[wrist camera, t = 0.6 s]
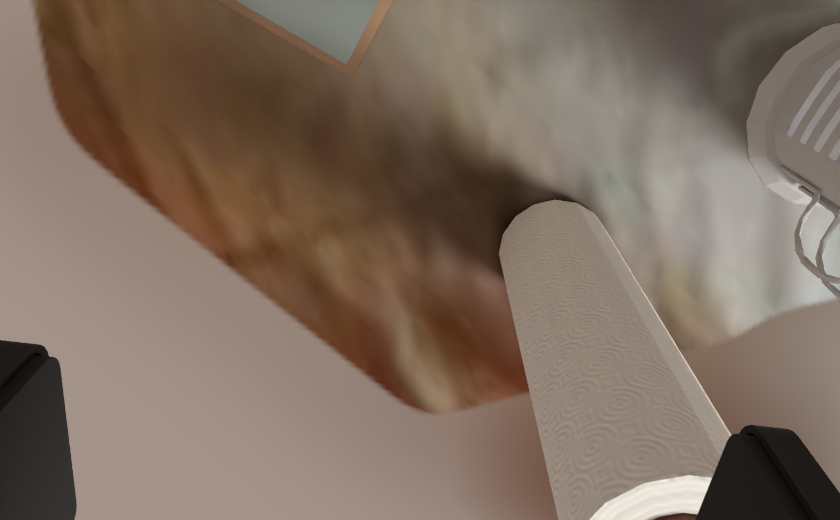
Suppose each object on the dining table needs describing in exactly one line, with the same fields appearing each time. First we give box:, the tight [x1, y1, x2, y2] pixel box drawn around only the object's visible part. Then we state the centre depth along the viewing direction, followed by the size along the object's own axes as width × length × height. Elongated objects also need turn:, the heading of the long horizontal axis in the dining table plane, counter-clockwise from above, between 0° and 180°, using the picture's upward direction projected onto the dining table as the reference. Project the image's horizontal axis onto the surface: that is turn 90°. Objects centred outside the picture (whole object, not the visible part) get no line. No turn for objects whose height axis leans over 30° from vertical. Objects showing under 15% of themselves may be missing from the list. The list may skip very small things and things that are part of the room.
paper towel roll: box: [499, 200, 731, 520], centre depth 29 cm, size 7×6×21 cm
